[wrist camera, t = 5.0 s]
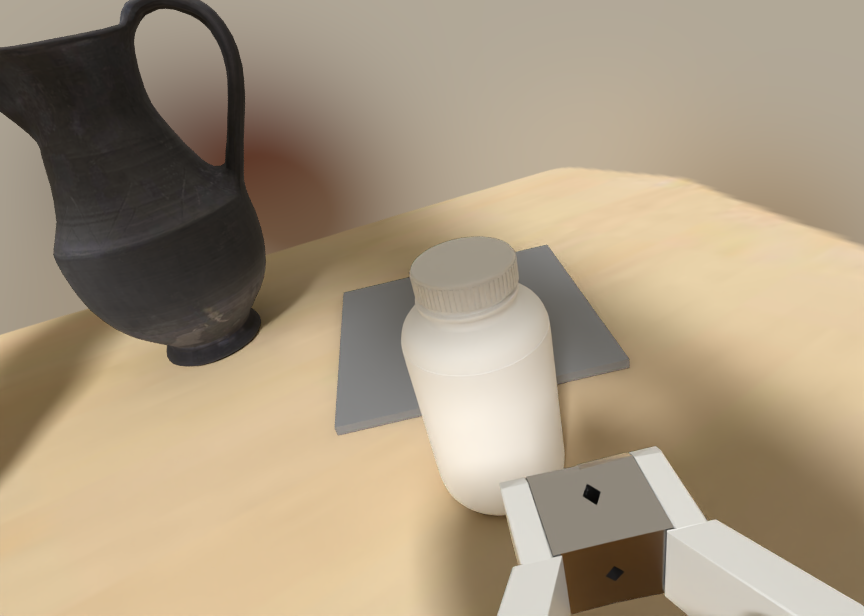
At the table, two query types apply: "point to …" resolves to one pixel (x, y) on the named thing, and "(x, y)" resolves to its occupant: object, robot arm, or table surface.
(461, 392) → the pill bottle
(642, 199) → the table surface
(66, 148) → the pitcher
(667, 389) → the table surface
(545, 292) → the mat
